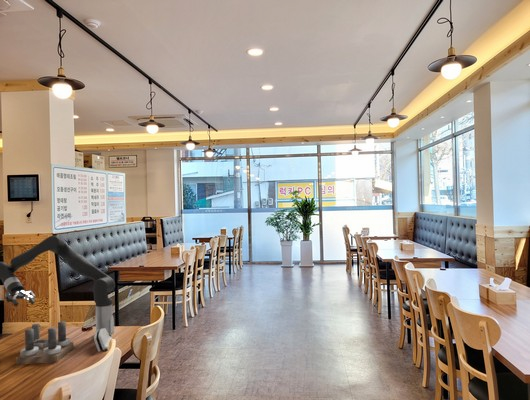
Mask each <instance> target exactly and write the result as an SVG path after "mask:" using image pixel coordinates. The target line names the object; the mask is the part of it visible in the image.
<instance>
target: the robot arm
mask: <svg viewBox="0 0 530 400" xmlns="http://www.w3.org/2000/svg"><path fill="white" fill-rule="evenodd" d="M48 251H50V252H52V253H54V254H56V255H57V256H59V257H61V258H62V259H63V260H64V261H65V262H66V264H67V265H68V266H69V267H70V268H71V270H72V271H74V272H75V273H76V274H78V275H81V276H83V277H85V278H88V279H90V280H93V281H94V283H93V286H92V287H93V290H92V292H93V301H94V303H95V333H96V332H97V331H98V330H101V329H103V328H106V330H107V332H108V334H109V336H111V334H114V332H115V318H114V317H115V316H114V315H113V310H114V309H113V299H112V298H109V294H108V293H110V292H112V291H113V290H114V289H115V288H116V282H115V280H114V279H113V278H112V277H111V276H110V275H108V274H107V273H105V272H104V271H102V270H100V269H99V268H98V267H96V266H95V265H94V264H93V263H91V262H90V261H89V260H88V259H87V258H85V257H84V256H83V255H82V254H80V253H79V252H77V251H76V250H74V249H72V248H71V247H70V246H69V244H68V243H67V242H65V240H64V239H63V238H61V237H59V236H57V235H50V236H48V237H47V238H44V239H43V240H42V241H41V242H39V243H38V244H36V245H34V246H33V247H32V248H30V249H29V250H26V251H24V252H23V253H21V254H19V255H16V256H14V257H12V258H10V265H8V263H6V262H4V261H0V280H1V282H2V284H3V286H4V288H5V290H6V292H5V294H4V295H3V297H4V298H5V301H6V302H7V303H12V304H13V306H14V307H18V305H19V301H18V300H25V301H26V300H27V301H28V302H29V303H30V305H32V306H33V305H34V304H35V302H36V301H35V298H36V294H35V293H34V292H33V291H32V289H30V290H28V291H26V290H25V286H24V285H23V284H22V283H21V280H19V279H18V277H17V276H16V274H15V272H17V271H18V270H19V269H20V268H22V267H25V266H27V265H28V264H31V262H33V261H34V260H35V259H36V258H37V257H38V256H40V255H41V254H43V253H45V252H48Z"/></svg>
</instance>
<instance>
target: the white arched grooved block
mask: <svg viewBox="0 0 530 400" xmlns="http://www.w3.org/2000/svg"><path fill="white" fill-rule="evenodd" d="M112 339H113V340H114V338H113V337H111V335H109V334H108V332H107V330H106V328H103V329H101V330H98V331H97V332H96V331H95V333H94V335H93V341H94V343H95V346H96V349H97V352H99V353H100V352H101V351H103V350H104V351H105V350H107V349H108V347H109V342H110V340H112Z"/></svg>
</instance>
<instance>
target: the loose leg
mask: <svg viewBox="0 0 530 400" xmlns="http://www.w3.org/2000/svg"><path fill="white" fill-rule="evenodd" d="M31 329H34V341H35V340H37V339H41V338H40V337H41V335H40V323H34V324H32V325H31Z"/></svg>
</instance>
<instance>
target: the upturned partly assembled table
mask: <svg viewBox="0 0 530 400" xmlns="http://www.w3.org/2000/svg"><path fill="white" fill-rule="evenodd" d="M66 324H67V322H66V320H65V321H63V320H62V321H59V322H57V327H50V328H48V329H47V338H40V339H37V340H35V341H34V329H32V328H27V329H25V330H24V338H25V340H24V348H22V349H21V350H20V354H19V356H17V357H16V358H15V359H16V360H15V361H16V362H15V364H16V365H28V364H29V365H30V364H44V363H46V364H47V363H48V364H49V363H58V362H59V361H60V360H61V359H62V358H64V356H66V355H68V353H69V352H71V351H72V349H73V348H74V341H71V338H70V337H67V325H66Z"/></svg>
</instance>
